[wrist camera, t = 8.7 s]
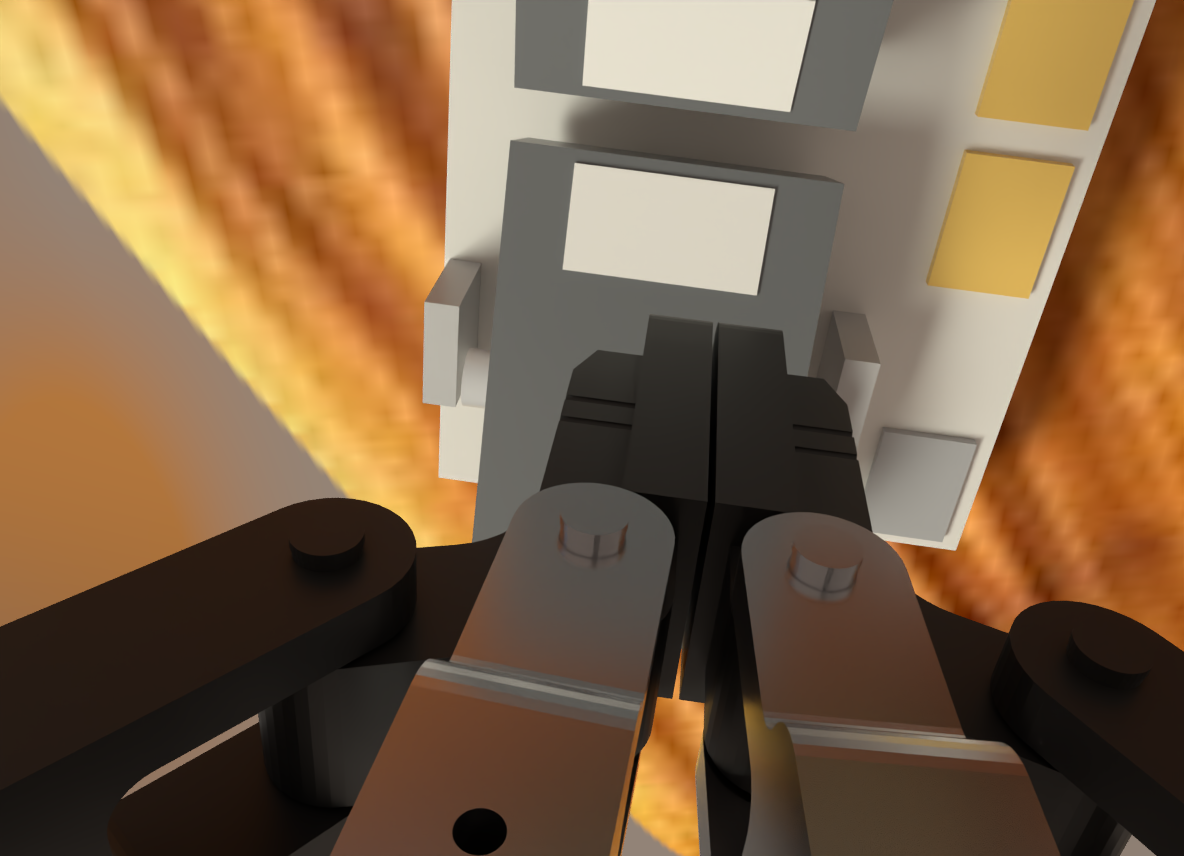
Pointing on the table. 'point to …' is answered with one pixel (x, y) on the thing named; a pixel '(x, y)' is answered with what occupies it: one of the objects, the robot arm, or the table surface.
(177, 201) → the table surface
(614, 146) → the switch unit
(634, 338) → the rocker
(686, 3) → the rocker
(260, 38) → the table surface
